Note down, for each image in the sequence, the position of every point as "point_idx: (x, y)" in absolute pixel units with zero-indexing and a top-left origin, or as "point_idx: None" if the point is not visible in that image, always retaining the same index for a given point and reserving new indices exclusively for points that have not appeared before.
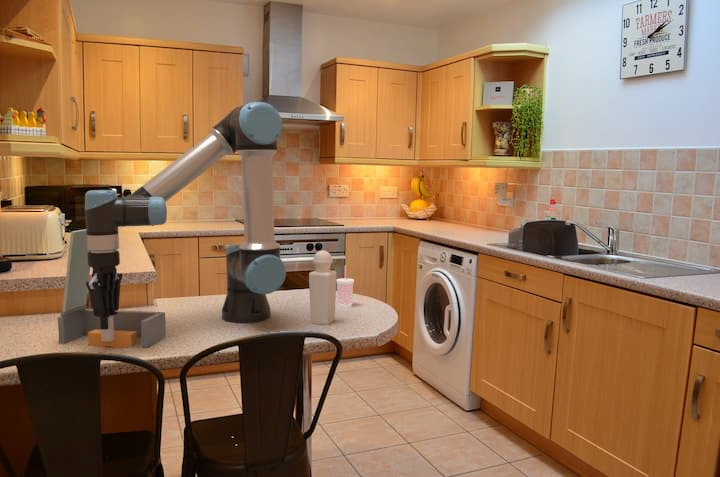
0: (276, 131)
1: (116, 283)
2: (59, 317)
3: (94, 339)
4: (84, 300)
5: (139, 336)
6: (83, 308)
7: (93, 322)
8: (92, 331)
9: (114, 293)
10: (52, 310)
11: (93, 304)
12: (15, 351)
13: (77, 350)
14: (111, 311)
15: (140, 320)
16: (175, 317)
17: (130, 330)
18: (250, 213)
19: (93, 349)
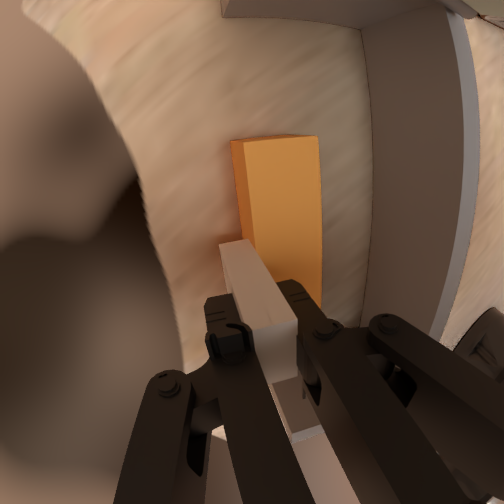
0: None
1: (499, 488)
2: None
3: (240, 178)
4: (493, 7)
5: (369, 273)
6: (448, 6)
7: (406, 65)
8: (276, 150)
9: (451, 443)
10: None
11: (128, 490)
12: None
13: (139, 156)
14: (308, 391)
15: (407, 313)
16: (500, 226)
17: (386, 248)
18: None
19: (178, 216)
